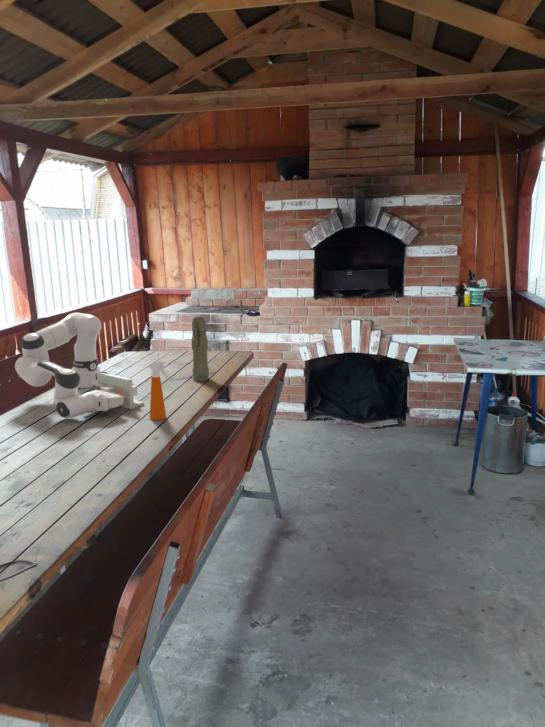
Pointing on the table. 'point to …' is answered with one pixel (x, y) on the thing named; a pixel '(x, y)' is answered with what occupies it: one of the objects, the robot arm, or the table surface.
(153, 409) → the spray bottle
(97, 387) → the button charcoal
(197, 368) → the green thermos flask
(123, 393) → the button terracotta
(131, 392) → the panel
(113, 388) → the button cream
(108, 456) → the table surface
